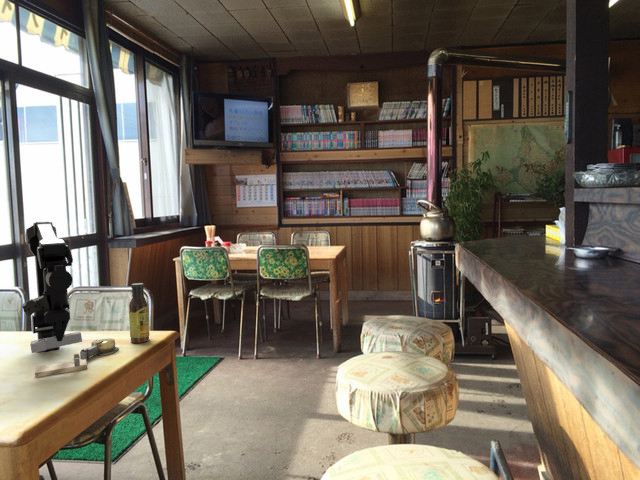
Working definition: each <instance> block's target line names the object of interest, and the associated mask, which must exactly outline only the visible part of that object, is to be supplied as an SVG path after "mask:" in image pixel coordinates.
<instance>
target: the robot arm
mask: <svg viewBox="0 0 640 480" xmlns="http://www.w3.org/2000/svg"><path fill="white" fill-rule="evenodd" d="M25 244H26V245H28V250H29V251H30V252H31V254H32V255H33V256H34V263H35V264H34V265H35V276H36V288H37V297H36V298H30V300H26V301H25V302H24V303H22V305H21V308H22V309H23V312H24V313H25V314H26V315H25V316H27V317H29V316H31V326H30V327H31V331H32V333H33V335H36V334H37V340H39V339H43V338H50V337H55V336H56V338H57V341H58V342H59V341H62V339H63V336H64V334H65V333H66V330H67V328H68V326H69V325H68V324H69V322H70V320H71V311H70V308H71V307H70V302H69V296H68V295H69V294H68V289H70V287H71V286H72V284H73V276H72V274H71V273H70V272H69V271H67V267H72V266H73V262H74V259H73V253H72V251H71V248H69V245H67V244H66V242H65V240H63V239H62V238H58V235H57V228H56V227H55V226H54V225H53V222H52V221H49V220H48V221H45V220H43V221H35V222H33V225H31V226H29V227H28V228H26V230H25ZM59 349H60V347H56V348H52V349H47V350H44V351H43V352H46V351H52V350H59ZM40 352H42V351H40ZM40 352H39V353H40Z"/></svg>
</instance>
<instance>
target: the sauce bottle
mask: <svg viewBox="0 0 640 480" xmlns="http://www.w3.org/2000/svg"><path fill="white" fill-rule="evenodd" d="M130 285H131V286H130V287H131V292H132V295H131V297H132V298H131V300H130V302H129V304H128V308H129V309H128V310H129V312H128V314H129V315H128V316H129V320H128V321H129V337H130V342H131V343H135V344H140V343H141V344H142V343H146V342H148V341H149V339H150V317H149V304H148V302H147V300H146V297H145V294H144V293H145V289H144V288H145V283H143V282H137V283H132V284H130Z"/></svg>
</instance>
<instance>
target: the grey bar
mask: <svg viewBox="0 0 640 480" xmlns="http://www.w3.org/2000/svg"><path fill="white" fill-rule="evenodd" d="M79 343H83V337H82V332H81V331H75V332H71V333H66V334H65V333H64V336H63V339H62V341H59V342H58V341H57V338H56V336H55V337H50V338H43V339H39V340H38V339H34V340H30V342H29V345H30V349H31V350H30V351H31V354H34V353H40V351H41V352H45V351H44V350H47V349H52V348H56V347H59V348H60V347H64V346H69V345H73V344H79Z"/></svg>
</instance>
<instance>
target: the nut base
mask: <svg viewBox="0 0 640 480" xmlns="http://www.w3.org/2000/svg"><path fill="white" fill-rule="evenodd" d="M119 350H120V348H119V347H118V346H115V349H114V350H113V351H110V352H105V353H97V354H95V355H93V356H95V357H96V356H97V357H98V356H107V355H110V354H111V355H112V354H114V353H116V352H118V351H119ZM93 356H92V357H93Z"/></svg>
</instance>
